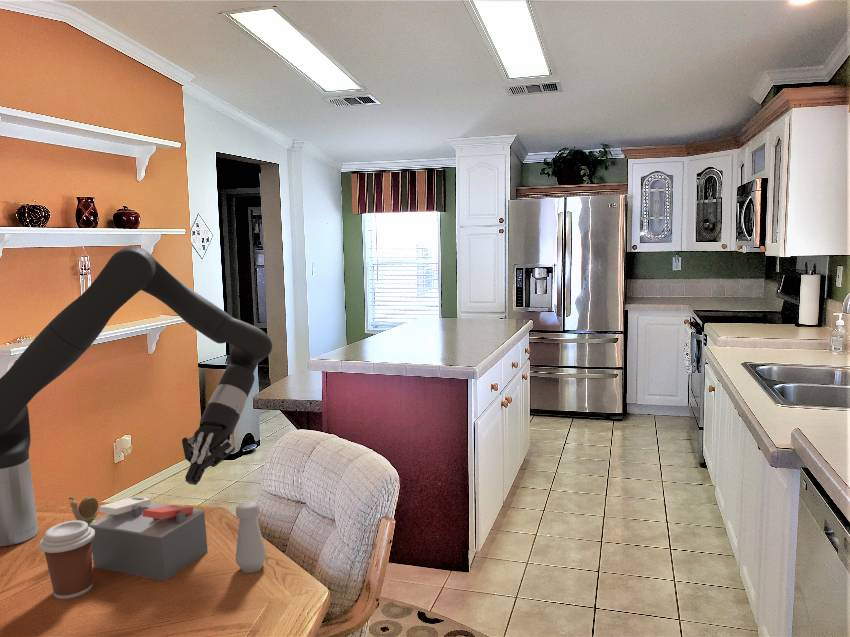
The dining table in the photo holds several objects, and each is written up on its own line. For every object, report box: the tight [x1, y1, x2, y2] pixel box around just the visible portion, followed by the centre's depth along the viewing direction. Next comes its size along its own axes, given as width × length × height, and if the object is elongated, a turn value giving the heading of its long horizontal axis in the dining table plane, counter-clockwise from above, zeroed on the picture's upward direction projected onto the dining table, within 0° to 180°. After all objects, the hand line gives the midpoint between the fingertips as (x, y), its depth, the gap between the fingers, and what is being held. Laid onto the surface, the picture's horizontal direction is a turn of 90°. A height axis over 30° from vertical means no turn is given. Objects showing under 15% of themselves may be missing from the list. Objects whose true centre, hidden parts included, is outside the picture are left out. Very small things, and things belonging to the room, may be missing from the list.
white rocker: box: [98, 496, 152, 515], centre depth 133 cm, size 4×9×1 cm, turn 159°
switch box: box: [89, 502, 209, 582], centre depth 132 cm, size 18×12×11 cm, turn 69°
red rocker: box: [142, 504, 194, 519], centre depth 129 cm, size 4×9×1 cm, turn 159°
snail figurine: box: [68, 496, 99, 527], centre depth 139 cm, size 5×6×12 cm
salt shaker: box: [235, 501, 267, 574], centre depth 126 cm, size 6×6×13 cm
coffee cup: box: [38, 520, 95, 600], centre depth 121 cm, size 9×9×12 cm
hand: (190, 483), depth 135 cm, fingers closed
